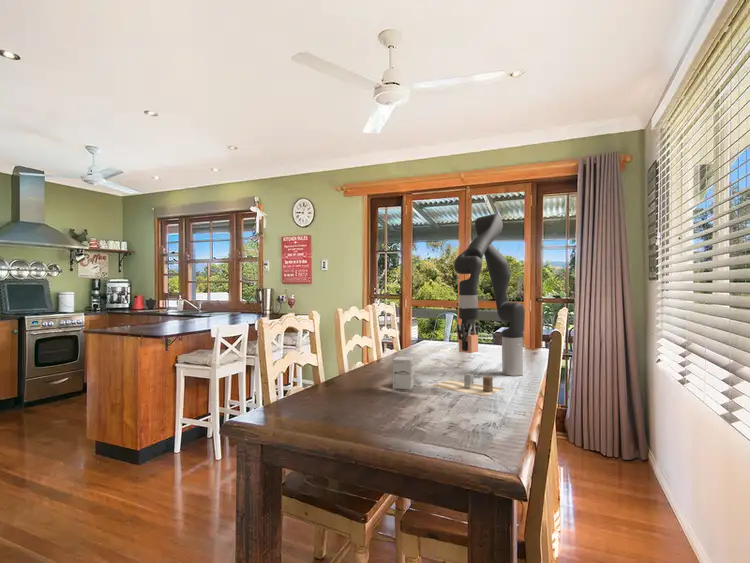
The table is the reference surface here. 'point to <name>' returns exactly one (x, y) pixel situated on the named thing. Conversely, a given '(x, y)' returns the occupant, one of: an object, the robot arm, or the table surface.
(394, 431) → the table surface
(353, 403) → the table surface
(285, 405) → the table surface
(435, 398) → the table surface
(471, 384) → the steel post
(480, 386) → the board
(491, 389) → the walnut post
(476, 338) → the salmon orange block
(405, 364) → the supplement box
